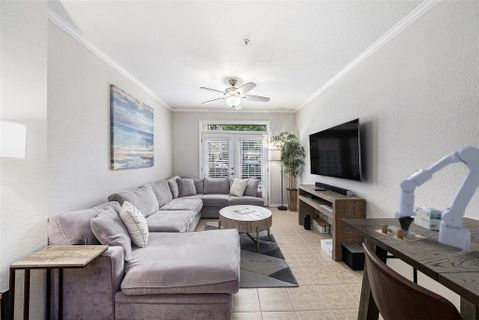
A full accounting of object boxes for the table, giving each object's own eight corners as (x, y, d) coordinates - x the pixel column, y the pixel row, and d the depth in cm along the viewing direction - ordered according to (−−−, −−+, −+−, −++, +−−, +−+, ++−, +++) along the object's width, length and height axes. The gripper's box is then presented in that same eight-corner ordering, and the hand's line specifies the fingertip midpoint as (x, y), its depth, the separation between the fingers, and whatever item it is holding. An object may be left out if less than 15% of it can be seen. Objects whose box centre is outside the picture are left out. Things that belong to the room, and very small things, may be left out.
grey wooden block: (415, 237, 101) (415, 233, 101) (406, 239, 98) (406, 234, 98) (392, 229, 110) (392, 225, 110) (384, 231, 107) (384, 227, 107)
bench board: (426, 240, 101) (427, 229, 100) (407, 244, 94) (408, 233, 94) (392, 229, 114) (393, 219, 114) (373, 232, 107) (374, 222, 107)
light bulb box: (441, 230, 116) (443, 210, 115) (429, 230, 116) (430, 210, 115) (425, 224, 126) (426, 206, 126) (413, 223, 126) (414, 205, 126)
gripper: (406, 201, 112) (404, 227, 112) (388, 202, 106) (386, 230, 106) (422, 204, 105) (419, 231, 106) (404, 206, 99) (402, 235, 100)
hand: (404, 231), depth 106 cm, fingers closed
